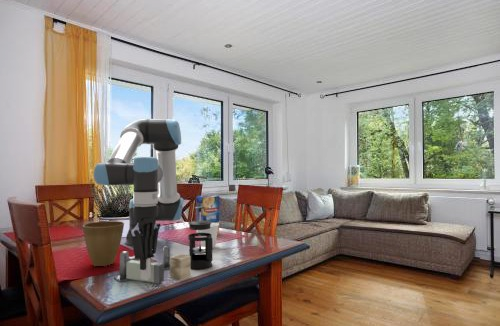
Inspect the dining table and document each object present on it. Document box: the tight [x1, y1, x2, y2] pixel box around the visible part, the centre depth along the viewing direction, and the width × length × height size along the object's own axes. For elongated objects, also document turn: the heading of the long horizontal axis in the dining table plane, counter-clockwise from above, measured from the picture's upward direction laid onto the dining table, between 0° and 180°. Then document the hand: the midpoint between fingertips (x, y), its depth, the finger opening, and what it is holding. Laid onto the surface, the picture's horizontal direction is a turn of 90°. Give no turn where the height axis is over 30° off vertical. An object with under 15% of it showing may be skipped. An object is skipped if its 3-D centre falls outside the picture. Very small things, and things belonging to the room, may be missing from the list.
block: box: [169, 253, 192, 281], centre depth 110 cm, size 5×5×7 cm
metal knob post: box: [113, 250, 140, 283], centre depth 109 cm, size 8×6×9 cm
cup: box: [201, 223, 220, 249], centre depth 149 cm, size 10×10×11 cm
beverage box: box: [195, 194, 220, 236], centre depth 176 cm, size 7×11×22 cm, turn 133°
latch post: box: [162, 245, 171, 271], centre depth 119 cm, size 4×4×8 cm
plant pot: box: [82, 220, 125, 267], centre depth 124 cm, size 15×15×16 cm
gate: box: [126, 260, 165, 284], centre depth 105 cm, size 13×3×6 cm, turn 71°
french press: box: [188, 207, 213, 271], centre depth 121 cm, size 12×9×23 cm
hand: (145, 278), depth 100 cm, fingers closed
